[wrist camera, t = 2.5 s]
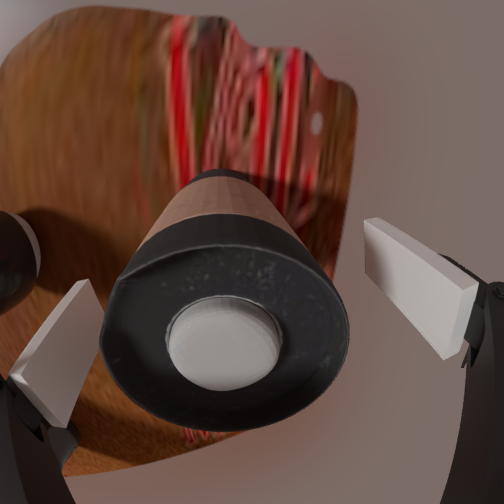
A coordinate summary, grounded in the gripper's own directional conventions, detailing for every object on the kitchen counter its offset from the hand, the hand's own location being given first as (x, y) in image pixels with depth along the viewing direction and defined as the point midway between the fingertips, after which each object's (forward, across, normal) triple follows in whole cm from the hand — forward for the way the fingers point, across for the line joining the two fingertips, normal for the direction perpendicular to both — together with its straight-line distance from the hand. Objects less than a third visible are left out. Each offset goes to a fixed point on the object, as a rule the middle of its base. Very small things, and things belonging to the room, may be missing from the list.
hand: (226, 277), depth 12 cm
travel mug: (+15, 0, 0) cm, 15 cm away
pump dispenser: (+15, -24, +2) cm, 28 cm away
